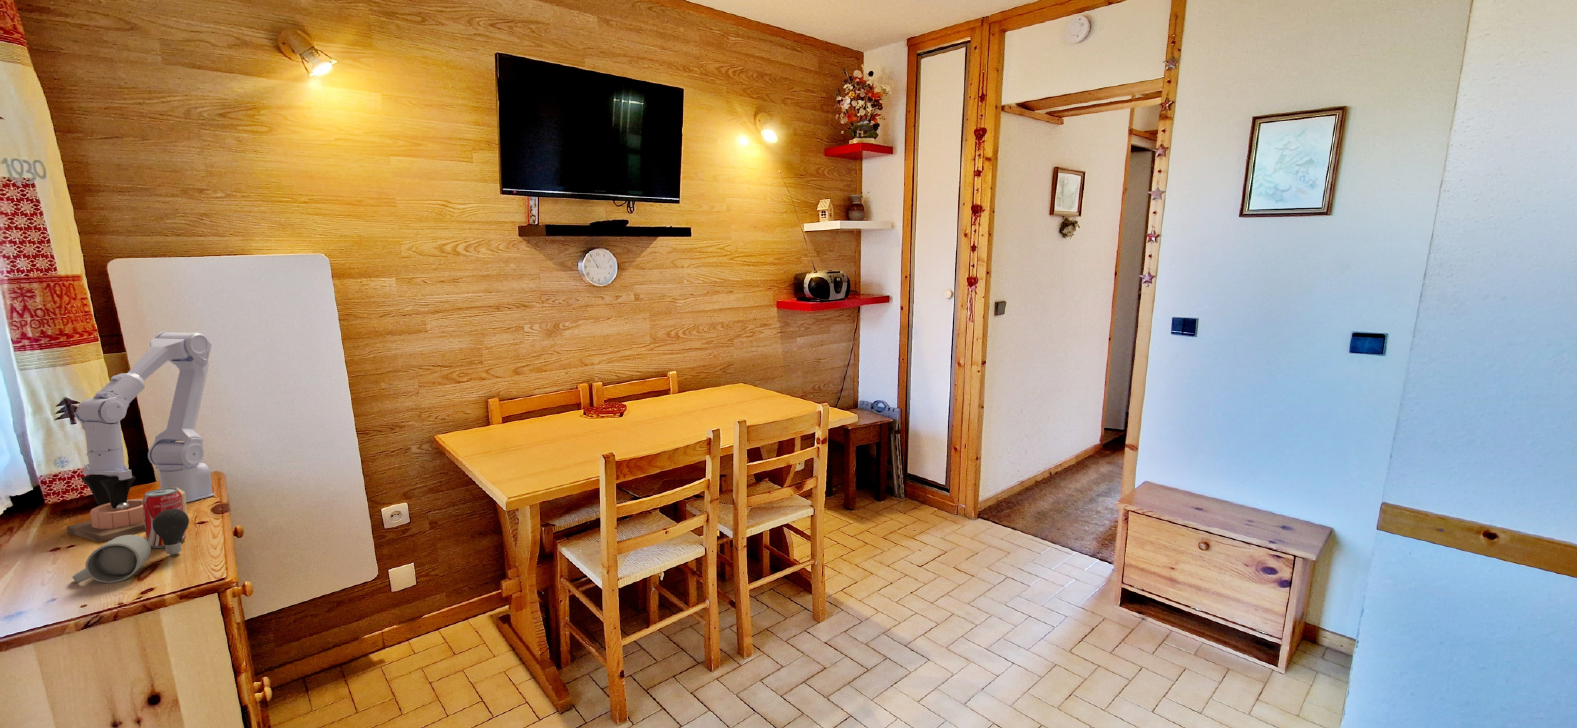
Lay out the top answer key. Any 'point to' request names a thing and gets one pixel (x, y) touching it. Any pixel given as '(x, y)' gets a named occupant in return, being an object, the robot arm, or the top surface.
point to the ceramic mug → (116, 560)
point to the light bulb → (171, 529)
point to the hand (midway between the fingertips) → (111, 505)
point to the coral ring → (117, 515)
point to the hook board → (104, 531)
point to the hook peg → (122, 506)
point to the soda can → (159, 511)
